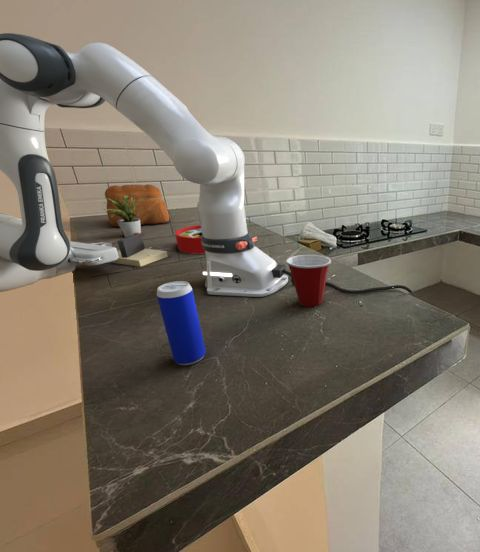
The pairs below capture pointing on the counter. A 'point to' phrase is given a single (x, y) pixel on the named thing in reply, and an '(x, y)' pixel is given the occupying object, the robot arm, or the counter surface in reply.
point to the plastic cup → (309, 277)
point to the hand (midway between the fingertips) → (108, 244)
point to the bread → (148, 200)
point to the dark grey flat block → (131, 245)
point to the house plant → (126, 216)
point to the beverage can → (181, 322)
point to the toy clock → (190, 240)
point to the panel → (142, 257)
